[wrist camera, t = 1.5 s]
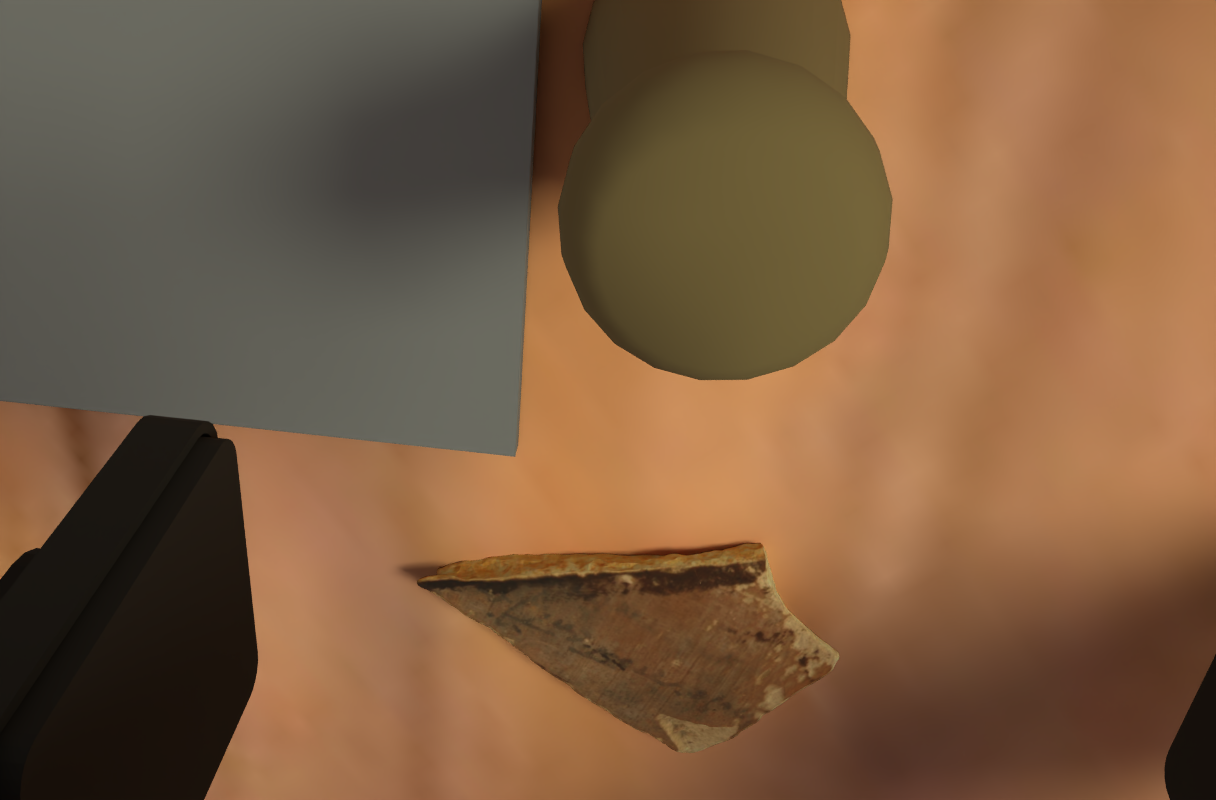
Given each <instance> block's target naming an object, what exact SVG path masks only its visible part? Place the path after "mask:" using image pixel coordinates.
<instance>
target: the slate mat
mask: <svg viewBox="0 0 1216 800" xmlns="http://www.w3.org/2000/svg"><path fill="white" fill-rule="evenodd" d="M541 6H542V0H0V401H7V402H17V403H26V404H35V405H44V406H53V407H63V408H72V409H81V410H90V411H100V412H109V413H118V414H127V415H136V416H148V415H155V416H164V417H174V418H183V419H193V420H202V421H209V422H210V423H212V424H219V425H229V426H238V427H247V428H256V429H265V430H275V431H284V432H293V433H302V434H311V435H321V436H330V437H339V438H348V439H358V440H367V441H376V442H385V443H394V444H404V445H413V446H422V447H431V448H441V449H450V450H459V451H468V452H477V453H487V454H496V455H505V456H514V457H515V455H516V451H517V447H518V437H519V418H520V399H521V381H522V362H523V343H524V324H525V306H526V287H527V268H528V249H529V231H530V212H531V193H532V175H533V156H534V137H535V118H536V100H537V81H538V62H539V43H540V25H541Z"/></svg>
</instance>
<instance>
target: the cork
mask: <svg viewBox="0 0 1216 800" xmlns="http://www.w3.org/2000/svg"><path fill="white" fill-rule="evenodd" d="M849 51H850V32H849V28H848V24H847V21H846V17H845V13H844V9H843V6H842V2H841V0H595V1H594V3H593V6H592V10H591V14H590V18H589V22H588V26H587V30H586V34H585V38H584V42H583V56H584V72H585V87H586V93H587V100H588V106H589V112H590V118H591V122H590V123H589V125H588V126H587V128H586V129H585V131H584V132H583V134H582V135H581V137H580V138H579V140H578V141H577V143H576V144H575V146H574V149H573V152H572V155H571V158H570V162H569V166H568V170H567V174H566V177H565V181H564V185H563V189H562V193H561V196H560V200H559V204H558V215H559V228H560V241H561V253H562V257H563V260H564V263H565V265H566V268H567V270H568V273H569V275H570V277H571V280H572V282H573V284H574V287H575V289H576V291H577V294H578V296H579V298H580V301H581V303H582V305H583V307H584V310H585V311H586V312H587V313H588V314H589V315H590V316H591V318H592V319H593V320H594V321H595V322H596V323H597V324H598V325H599V327H600V328H601V329H602V330H603V331H604V332H605V333H606V334H607V336H608V337H609V338H610V339H611V340H612V341H613V342H614V343H615V344H616V345H618V346H619V347H621V348H623V349H624V350H626V351H628V352H629V353H631V354H633V355H634V356H636V357H637V358H639V359H641V360H642V361H644V362H646V363H647V364H649V365H651V366H652V367H654V368H657V369H661V370H665V371H668V372H672V373H676V374H680V375H683V376H687V377H691V378H694V379H698V380H747V379H751V378H754V377H758V376H761V375H765V374H768V373H772V372H775V371H779V370H782V369H786V368H789V367H793V366H795V365H796V364H798V363H800V362H801V361H803V360H804V359H806V358H808V357H809V356H811V355H812V354H814V353H816V352H817V351H819V350H820V349H822V348H824V347H825V346H827V345H829V344H830V343H832V342H833V341H835V340H836V338H837V337H838V336H839V335H840V334H841V333H842V332H843V330H844V329H845V328H846V327H847V326H848V325H849V324H850V323H851V321H852V320H853V319H854V318H855V317H856V316H857V315H858V314H859V312H860V311H861V310H862V309H863V308H864V307H865V306H866V304H867V301H868V299H869V297H870V295H871V292H872V290H873V288H874V285H875V283H876V281H877V279H878V276H879V274H880V272H881V270H882V267H883V265H884V263H885V260H886V256H887V252H888V248H889V236H890V223H891V211H892V195H891V192H890V188H889V184H888V180H887V177H886V173H885V169H884V166H883V162H882V158H881V155H880V151H879V148H878V146H877V144H876V142H875V140H874V137H873V136H872V135H871V133H870V132H869V130H868V129H867V127H866V126H865V125H864V123H863V122H862V120H861V119H860V118H859V116H858V115H857V113H856V112H855V110H854V109H853V108H852V106H851V105H850V103H849V102H848V101H847V85H848V69H849Z"/></svg>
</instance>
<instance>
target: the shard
mask: <svg viewBox="0 0 1216 800" xmlns="http://www.w3.org/2000/svg"><path fill="white" fill-rule="evenodd" d="M417 584H418V585H419V586H420V587H422V588H424V589H427V590H429V591H430V592H432V593H434V594H436V595H438V596H440V597H441V598H442V599H444V600H445V601H446V602H447V603H449V604H450V605H451V606H454V607H455V608H457V609H458V610H459V611H461V612H462V613H463V614H464V615H466V616H468V617H469V618H471V619H473V620H475V621H477V622H478V623H481V624H484V625H485V626H487V627H490V628H491V629H492V630H493V631H494V632H495V633H497V634H499V635H500V636H501V637H502V638H504V639H505V640H507V641H508V642H510V643H511V644H512V645H513V646H515V647H516V648H517V649H519V650H520V651H521V652H523V653H524V654H525V655H527V656H528V657H529V658H530V659H531V660H532V661H533V662H534V663H536V664H537V665H539V666H540V667H541V668H542V669H544V670H545V671H547V672H548V673H550V674H551V675H553V676H555V677H556V678H558V679H560V680H562V681H563V682H565V683H567V684H568V685H570V686H571V687H572V689H573V690H575V691H576V692H577V693H578V694H580V695H581V696H583V697H585V698H586V699H588V700H589V701H591V702H593V703H595V704H596V705H598V706H600V707H602V708H604V709H606V710H607V711H608V712H610V713H611V714H612V715H613V716H614V717H616V718H618V719H619V720H621V721H623V722H624V723H626V724H628V725H630V726H632V727H633V728H635V729H637V730H639V731H641V732H645V733H649V734H650V735H652V736H653V737H655V738H656V739H658V740H660V741H661V742H662V743H664V744H666V745H667V746H668V747H670V748H671V749H673V750H675V751H677V752H682V753H683V752H687V753H694V752H697V751H701V750H704V749H706V748H708V747H710V746H713V745H716V744H718V743H720V742H725V741H727V740H729V739H732V738H734V737H735V736H737V735H738V734H739V733H740V732H741V731H742V730H745V729H746V728H748V727H749V726H751V725H753V724H755V723H756V722H758V721H759V720H760V718H761V717H762V716H763V715H764V714H766V713H768V712H770V711H772V710H773V709H775V708H776V707H777V706H779V705H781V704H782V703H783V702H785V701H786V700H787V699H789V698H790V697H791V696H793V695H794V694H795V693H797V692H798V691H800V690H802V689H803V688H805V687H807V686H809V685H811V684H813V683H814V682H816V681H818V680H820V679H821V678H823V677H824V676H825V675H826V674H828V673H829V672H831V671H832V670H833V668H834V666H835V663H836V662H837V661H838V659H839V653H838V651H836V650H835V649H833V648H832V647H831V646H829V645H828V644H827V643H826V642H824V641H823V640H821V639H820V638H818V637H817V636H816V635H815V634H814V633H813V632H812V631H811V630H810V629H809V628H808V627H806V626H805V625H804V624H803V623H802V622H800V621H799V620H798V619H797V618H796V617H795V616H794V615H793V614H792V613H791V612H789V610H788V609H787V608H786V607H785V605H784V603H783V601H782V600H781V598H780V595H779V594H778V593H777V591H776V587H775V583H774V581H773V576H772V573H771V569H770V566H769V563H768V560H767V554H766V551H765V549H764V546H763V545H762V544H761V543H756V544H749V543H745V544H742V545H739V546H736V547H732V548H728V549H725V550H722V551H721V550H713V551H710V552H703V553H701V554H694V555H680V554H669V555H666V556H660V555H633V556H625V555H614V554H569V555H560V554H542V555H530V554H525V555H518V554H512V555H506V556H497V557H488V558H485V559H482V560H474V561H461V562H458V563H452V564H449V565H446V566H445V567H443V568H438V569H437V575H434V576H425V577H423V578H421V579H419V580H417Z"/></svg>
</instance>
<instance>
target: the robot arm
mask: <svg viewBox="0 0 1216 800" xmlns="http://www.w3.org/2000/svg"><path fill="white" fill-rule="evenodd" d="M257 666H258V650H257V641H256V632H255V622H254V613H253V604H252V594H251V585H250V576H249V566H248V557H247V548H246V538H245V529H244V520H243V510H242V501H241V492H240V482H239V473H238V464H237V454H236V449H235V446H234V444H233V442H232V441H231V440H229V439H222V438H218V437H217V432H216V429H215V428H214V426H213V424H212V423H210V422H209V421H202V420H193V419H183V418H174V417H164V416H155V415H148V416H144V417H143V418H142V419H141V420H139V421H138V422H137V424H136V425H135V426H134V428H133V429H132V430H131V431H130V433H129V434H128V435H127V437H126V438H125V439H124V441H123V442H122V443H121V444H120V446H119V447H118V448H117V450H116V451H115V452H114V454H113V455H112V456H111V457H110V459H109V460H108V461H107V463H106V464H105V465H104V467H103V468H102V469H101V470H100V472H99V473H98V474H97V476H96V477H95V478H94V480H93V481H92V482H91V483H90V485H89V486H88V487H87V489H86V490H85V491H84V493H83V494H82V495H81V497H80V498H79V499H78V500H77V502H76V503H75V504H74V506H73V507H72V508H71V510H70V511H69V512H68V513H67V515H66V516H65V517H64V519H63V520H62V521H61V523H60V524H59V525H58V526H57V528H56V529H55V530H54V532H53V533H52V534H51V536H50V537H49V538H48V539H47V541H46V542H45V543H44V545H43V546H42V547H41V549H40V548H35V549H33V550H30V551H28V552H25V553H24V554H23V555H22V556H21V557H20V558H19V559H18V560H16V561H15V562H14V563H13V564H12V565H11V567H10V568H9V569H8V571H7V572H6V573H5V574H4V576H3V577H2V578H1V579H0V800H204V799H205V796H206V794H207V792H208V790H209V787H210V785H211V783H212V781H213V779H214V776H215V774H216V772H217V770H218V767H219V765H220V763H221V761H222V758H223V756H224V754H225V752H226V749H227V747H228V745H229V743H230V740H231V738H232V736H233V734H234V732H235V729H236V727H237V725H238V723H239V720H240V718H241V716H242V714H243V711H244V709H245V707H246V705H247V702H248V700H249V698H250V696H251V693H252V690H253V687H254V683H255V679H256V674H257ZM1165 783H1166V789H1167V792H1168V795H1169V798H1170V800H1216V655H1215V657H1214V659H1213V661H1212V663H1211V665H1210V667H1209V669H1208V671H1207V673H1206V675H1205V678H1204V680H1203V682H1202V684H1201V686H1200V688H1199V690H1198V692H1197V694H1196V696H1195V698H1194V700H1193V702H1192V704H1191V706H1190V708H1189V710H1188V712H1187V714H1186V716H1185V718H1184V721H1183V723H1182V725H1181V727H1180V729H1179V731H1178V733H1177V735H1176V737H1175V739H1174V741H1173V743H1172V745H1171V747H1170V749H1169V751H1168V754H1167V757H1166V762H1165Z"/></svg>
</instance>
